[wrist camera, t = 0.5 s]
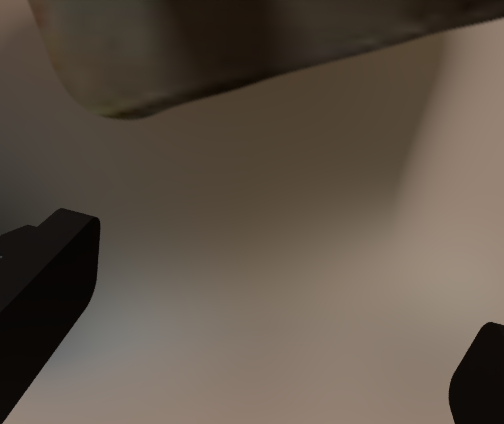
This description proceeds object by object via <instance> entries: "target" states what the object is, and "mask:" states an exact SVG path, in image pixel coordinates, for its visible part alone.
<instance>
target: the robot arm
mask: <svg viewBox="0 0 504 424" xmlns="http://www.w3.org/2000/svg"><path fill="white" fill-rule="evenodd" d="M99 241H100V221H99V219H98V218H97V217H94V216H90V215H86V214H83V213H79V212H75V211H71V210H67V209H64V208H60V209H58V210H57V211H55V212H54V213H53V214H52V215H51V216H49V217H48V218H47V219H46V220H45V221H44V222H42V223H41V224H40V225H39V226H38V227H35V226H31V225H26V226H23V227H21V228H18V229H15V230H13V231H10V232H8V233H5V234H3V235H1V236H0V424H2V423H3V422H4V420H5V419H6V418H7V416H8V415H9V413H10V412H11V411H12V409H13V408H14V407H15V405H16V404H17V402H18V401H19V400H20V398H21V397H22V396H23V394H24V393H25V391H26V390H27V389H28V387H29V386H30V385H31V383H32V382H33V380H34V379H35V378H36V376H37V375H38V374H39V372H40V371H41V369H42V368H43V367H44V365H45V364H46V363H47V361H48V359H49V358H50V357H51V356H52V354H53V353H54V351H55V350H56V349H57V347H58V346H59V345H60V343H61V342H62V340H63V339H64V337H65V336H66V335H67V334H68V332H69V331H70V329H71V328H72V327H73V325H74V324H75V322H76V321H77V320H78V318H79V317H80V316H81V314H82V313H83V312H84V310H85V309H86V307H87V306H88V304H89V302H90V300H91V297H92V295H93V292H94V289H95V285H96V280H97V269H98V255H99ZM449 405H450V409H451V412H452V415H453V419H454V422H455V424H504V325H501V324H497V323H493V322H488V323H486V324H485V325H483V327H482V328H481V329H480V331H479V332H478V334H477V336H476V337H475V339H474V341H473V342H472V344H471V346H470V348H469V349H468V351H467V352H466V354H465V356H464V357H463V359H462V361H461V363H460V364H459V366H458V367H457V369H456V371H455V373H454V374H453V376H452V379H451V382H450V387H449Z"/></svg>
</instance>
